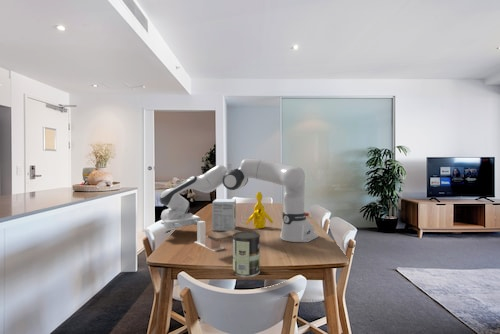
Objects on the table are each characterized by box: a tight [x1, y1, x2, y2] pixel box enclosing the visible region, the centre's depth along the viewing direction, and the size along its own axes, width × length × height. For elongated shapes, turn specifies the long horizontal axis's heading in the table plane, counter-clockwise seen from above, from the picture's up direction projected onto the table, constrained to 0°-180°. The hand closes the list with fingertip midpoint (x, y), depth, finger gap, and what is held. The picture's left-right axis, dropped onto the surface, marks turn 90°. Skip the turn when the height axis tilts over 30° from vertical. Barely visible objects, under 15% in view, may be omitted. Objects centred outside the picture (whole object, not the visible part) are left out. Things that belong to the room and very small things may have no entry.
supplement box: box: [211, 198, 237, 232], centre depth 169 cm, size 13×13×18 cm
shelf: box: [207, 229, 243, 242], centre depth 120 cm, size 15×7×10 cm, turn 130°
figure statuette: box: [245, 191, 275, 230], centre depth 172 cm, size 18×8×22 cm, turn 96°
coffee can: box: [232, 231, 261, 278], centre depth 102 cm, size 10×10×14 cm
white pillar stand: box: [193, 220, 225, 252], centre depth 130 cm, size 6×18×11 cm, turn 40°
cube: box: [204, 235, 221, 250], centre depth 127 cm, size 5×5×5 cm
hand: (189, 224), depth 144 cm, fingers open, 8 cm apart
